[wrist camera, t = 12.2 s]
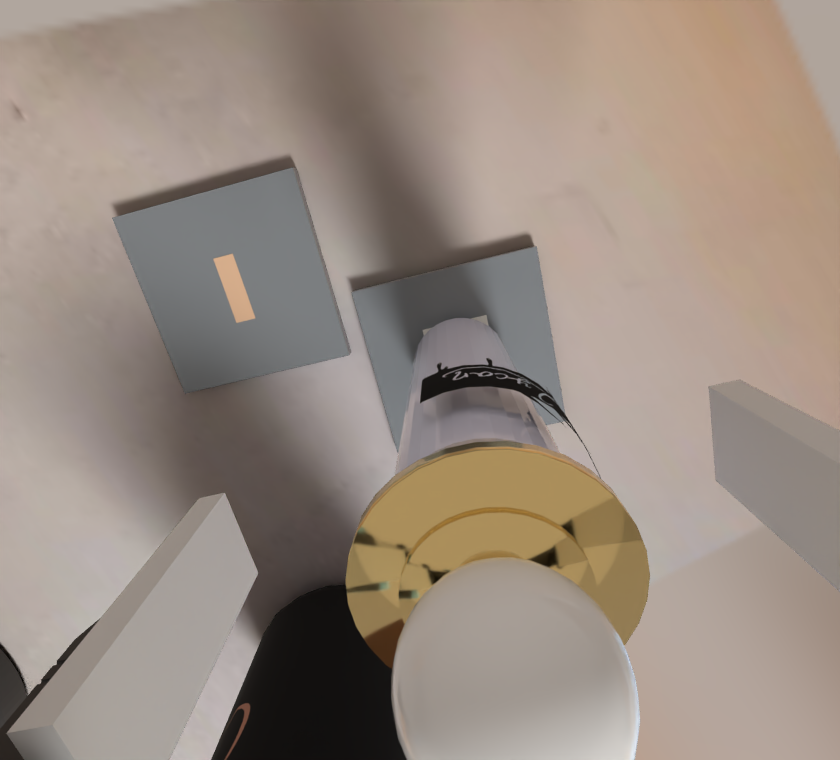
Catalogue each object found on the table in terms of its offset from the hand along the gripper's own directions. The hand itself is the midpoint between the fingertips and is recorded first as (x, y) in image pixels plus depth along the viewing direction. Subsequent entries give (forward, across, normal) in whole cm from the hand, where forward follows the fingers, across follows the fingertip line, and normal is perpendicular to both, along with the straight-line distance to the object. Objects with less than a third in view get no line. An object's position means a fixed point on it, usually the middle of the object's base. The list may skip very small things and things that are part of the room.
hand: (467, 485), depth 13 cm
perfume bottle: (+12, +1, 0) cm, 12 cm away
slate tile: (+13, -9, +6) cm, 17 cm away
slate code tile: (+13, +1, 0) cm, 13 cm away
